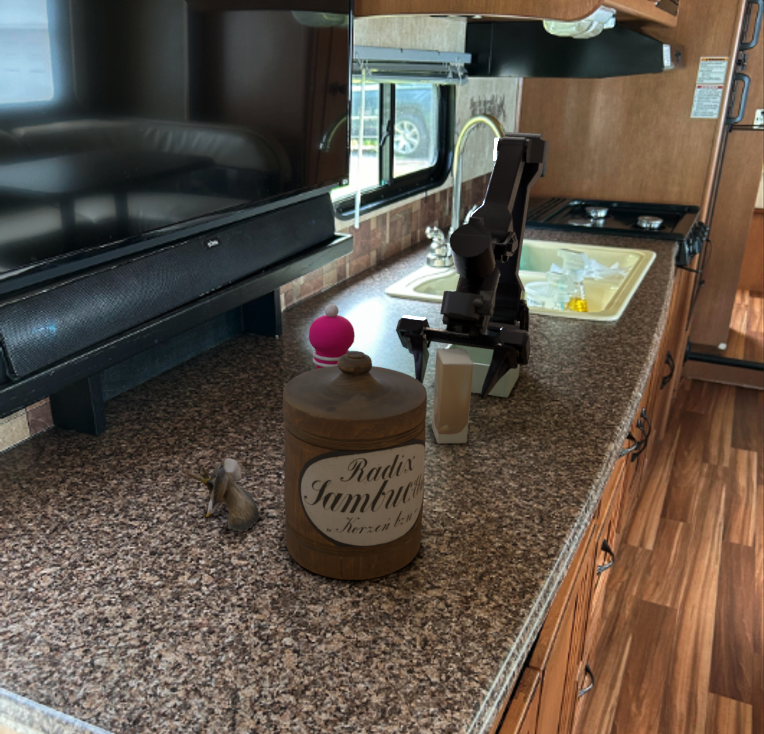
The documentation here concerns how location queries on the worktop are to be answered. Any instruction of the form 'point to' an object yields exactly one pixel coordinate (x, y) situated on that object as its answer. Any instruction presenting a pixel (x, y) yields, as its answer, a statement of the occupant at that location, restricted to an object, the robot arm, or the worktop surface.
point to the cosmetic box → (452, 395)
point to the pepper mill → (330, 337)
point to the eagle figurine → (229, 495)
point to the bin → (480, 369)
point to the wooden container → (354, 468)
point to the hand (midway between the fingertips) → (449, 393)
